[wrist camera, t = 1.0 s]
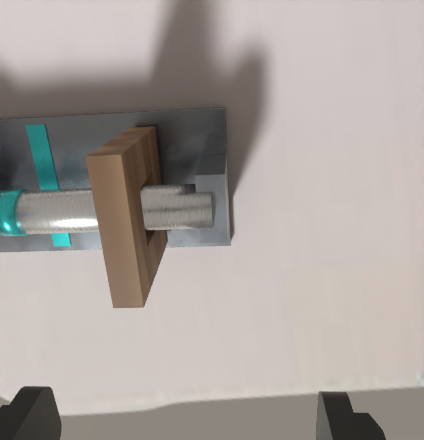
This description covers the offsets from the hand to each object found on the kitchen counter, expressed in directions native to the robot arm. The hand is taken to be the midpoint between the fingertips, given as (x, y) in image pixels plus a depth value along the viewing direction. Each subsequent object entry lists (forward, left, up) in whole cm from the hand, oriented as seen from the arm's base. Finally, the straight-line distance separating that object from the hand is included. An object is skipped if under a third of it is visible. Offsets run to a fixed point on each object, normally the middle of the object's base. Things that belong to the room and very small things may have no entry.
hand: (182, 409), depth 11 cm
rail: (+10, 0, -24) cm, 26 cm away
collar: (+5, 0, -22) cm, 23 cm away
